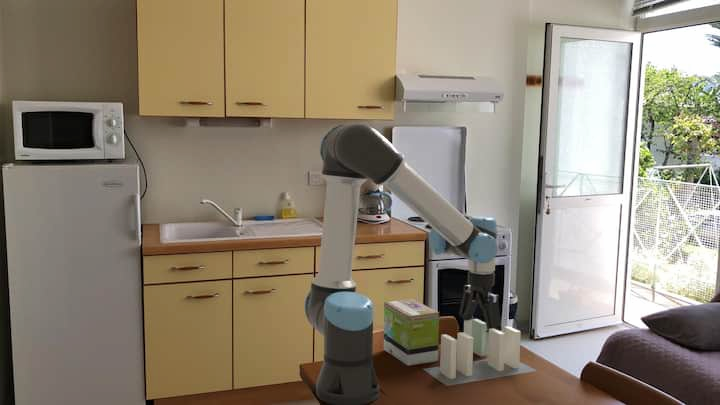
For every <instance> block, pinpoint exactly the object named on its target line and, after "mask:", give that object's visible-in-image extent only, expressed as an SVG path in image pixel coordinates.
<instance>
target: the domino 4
mask: <svg viewBox="0 0 720 405" xmlns="http://www.w3.org/2000/svg"><path fill="white" fill-rule="evenodd" d="M503 333H505V351H504V363H505V364H507V365H509V366H510V367H512V368H514V369H515V368H519V361H520V357H521V356H520V354H521V337H522V336H521V335H522V333H521V331H520V330H519V329H516V328H514V327H511V326H503Z"/></svg>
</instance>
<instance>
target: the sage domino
mask: <svg viewBox="0 0 720 405" xmlns="http://www.w3.org/2000/svg"><path fill="white" fill-rule="evenodd" d="M486 330H488V329H487V325H486V321H482V320H481V319H478V318H473V319H472V337H473V354H476V355H477V356H479V357H482V358H483V357H486V356H487V355H486V354H485V338H486Z"/></svg>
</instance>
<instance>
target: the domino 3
mask: <svg viewBox="0 0 720 405" xmlns="http://www.w3.org/2000/svg"><path fill="white" fill-rule="evenodd" d="M504 351H505V333H504V331H502V330H501V331H499V330H496V329H494V328H492V329H489V339H488V355H487V359H488V365H489V366H491V367H493V368H494V369H496V370H498V371H502V370H504Z"/></svg>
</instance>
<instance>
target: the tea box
mask: <svg viewBox="0 0 720 405" xmlns="http://www.w3.org/2000/svg"><path fill="white" fill-rule="evenodd" d="M439 328H440V311H438V310H435V309H433V308H431V307H429V306H427V305H425V304H423V303H421V302H420V301H418V300H416V299H414V298H411V299H410V298H409V299H402V300H393V301H385V302H384V305H383V351H385V352H387V353H388V354H390V355H392V356H393V357H394V358H396V359H397V360H399V361H400V362H402V363H403V364H405V365H406V366H413V365H419V364H426V363H427V364H428V363H433V362H438V361H439V332H440V329H439Z"/></svg>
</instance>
